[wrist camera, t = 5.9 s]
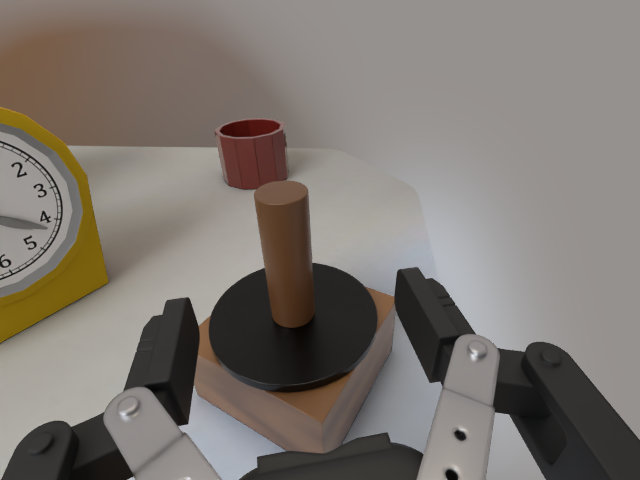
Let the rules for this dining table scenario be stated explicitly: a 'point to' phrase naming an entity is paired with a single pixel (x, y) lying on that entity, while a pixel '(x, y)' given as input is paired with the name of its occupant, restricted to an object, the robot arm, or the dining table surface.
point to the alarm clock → (43, 226)
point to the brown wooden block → (298, 393)
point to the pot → (252, 152)
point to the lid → (291, 306)
